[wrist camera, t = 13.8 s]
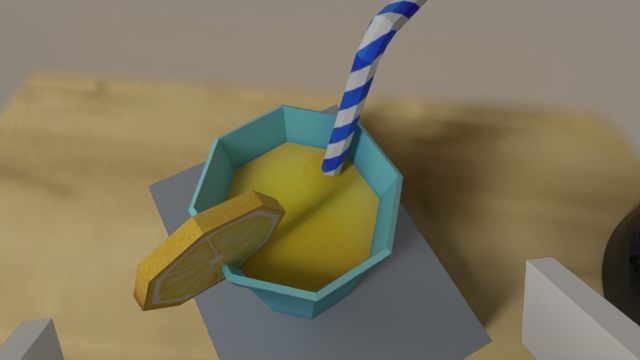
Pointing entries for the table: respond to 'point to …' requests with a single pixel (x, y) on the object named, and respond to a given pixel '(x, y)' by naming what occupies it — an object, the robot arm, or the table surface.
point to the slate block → (339, 303)
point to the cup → (289, 203)
